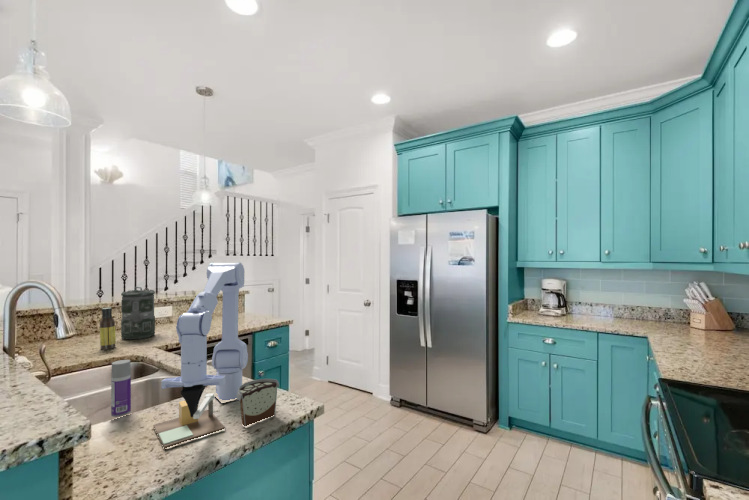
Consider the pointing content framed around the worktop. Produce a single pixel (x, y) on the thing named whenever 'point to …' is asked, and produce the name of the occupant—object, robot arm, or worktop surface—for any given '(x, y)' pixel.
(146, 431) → the worktop surface
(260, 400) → the food container
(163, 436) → the sage mat
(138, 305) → the green backpack
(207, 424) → the brown tray
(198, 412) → the strap
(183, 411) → the plug block
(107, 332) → the sauce bottle
